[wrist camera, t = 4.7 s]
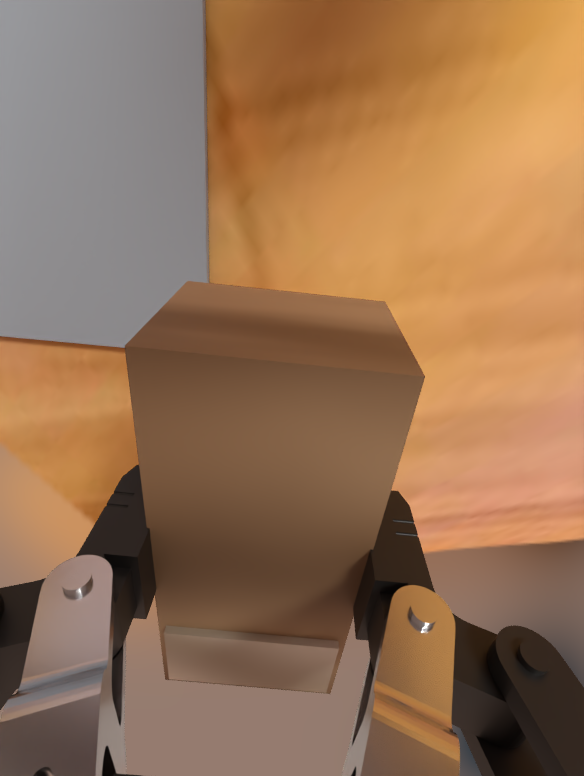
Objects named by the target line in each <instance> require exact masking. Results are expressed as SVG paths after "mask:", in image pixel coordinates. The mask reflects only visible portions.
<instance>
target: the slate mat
mask: <svg viewBox="0 0 584 776" xmlns="http://www.w3.org/2000/svg"><path fill="white" fill-rule="evenodd" d="M187 281H194V282H203V283H209V230H208V157H207V84H206V11H205V0H0V336H4V337H15V338H25V339H36V340H47V341H57V342H68V343H79V344H89V345H100V346H111V347H121V348H125V345H126V344H127V343H128V342H129V341H130V340H131V339H132V338H133V337H134V336H135V335H136V334H137V332H138V331H139V330H140V329H141V328H142V327H143V326H144V325H145V324H146V323H147V322H148V321H149V320H150V319H151V318H152V317H153V316H154V315H155V314H156V313H157V312H158V311H159V310H160V309H161V308H162V307H163V306H164V305H165V304H166V303H167V302H168V301H169V299H170V298H171V297H172V296H173V295H174V294H175V293H176V292H177V291H178V290H179V289H180V288H181V287H182V286H183V285H184V284H185V283H186V282H187Z"/></svg>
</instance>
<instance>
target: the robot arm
mask: <svg viewBox="0 0 584 776" xmlns="http://www.w3.org/2000/svg"><path fill="white" fill-rule="evenodd" d="M417 535H418V534H417V530H416V527H415V524H414V520H413V517H412V513H411V510H410V506H409V505H408V503H407V502H406V501H405V499H404V498H403V497H402V496H401V494H400V493H399V492H398V491H391V492H390V495H389V499H388V502H387V505H386V509H385V512H384V515H383V519H382V522H381V525H380V529H379V532H378V536H377V539H376V542H375V546H374V549H373V550H371V549H370V552H369V556H368V559H367V563H366V566H365V569H364V573H363V576H362V579H361V583H360V586H359V589H358V593H357V596H356V599H355V603H354V606H353V613H354V622H355V633H356V639H360V640H368V641H369V649H370V659H369V662H368V665H367V669H366V673H365V678H364V682H363V687H362V691H361V696H360V700H359V705H358V709H357V714H356V718H355V723H354V727H353V732H352V737H351V741H350V745H349V749H348V754H347V757H346V761H345V764H344V768H343V771H342V775H341V776H459V774H460V770H459V769H460V748H459V741H458V737H457V734H456V733H454V732H453V730H452V724H453V725H455V726H457V727H459V728H461V731H462V732H463V735H464V737H465V739H466V741H467V744H468V746H469V748H470V750H471V753H472V754H473V757H474V759H475V761H476V764H477V766H478V768H479V770H480V772H481V775H482V776H584V687H583V686H582V685H581V683H580V682H579V681H578V679H577V678H576V676H575V675H574V673H573V672H572V670H571V669H570V668H569V666H568V665H567V663H566V662H565V661H564V659H563V658H562V657H561V655H560V654H559V652H558V651H557V650H556V649H555V648H554V647H553V646H552V645H551V643H549V642H548V641H547V640H546V639H545V638H543V637H542V636H540V635H539V634H537V633H536V632H534V631H532V630H530V629H528V628H525V627H521V626H508V627H505V628H503V629H502V630H501V631H500V632H499V633H498V635H497V634H494V633H492V632H490V631H487V630H485V629H482V628H480V627H477V626H475V625H472V624H470V623H467V622H466V621H463V620H462V619H460V618H458V617H457V616H455V615H454V614H453V613H452V612H451V610H450V608H449V607H448V605H447V604H446V603H445V601H444V600H443V599H442V598H441V597H440V596H438V595H437V594H436V593H435V591H434V588H433V585H432V582H431V578H430V575H429V571H428V568H427V565H426V561H425V558H424V554H423V551H422V547H421V544H420V541H419V537H417ZM155 592H156V581H155V572H154V563H153V554H152V545H151V537H150V528H147V525H146V517H145V509H144V501H143V493H142V484H141V476H140V468H139V465H136V466H135V467H134V468H133V469H131V470H130V471H129V472H128V473H127V474H125V475H124V476H123V477H122V478H121V480H120V482H119V484H118V485H117V487H116V489H115V491H114V494H112V496H111V497H110V499H109V501H108V503H107V506H106V507H105V508H104V510H103V511H102V513H101V515H100V516H99V518H98V520H97V522H96V523H95V525H94V527H93V529H92V530H91V532H90V534H89V536H88V537H87V539H86V541H85V542H84V544H83V546H82V548H81V549H80V551H79V553H78V554H77V556H76V557H74V558H71V559H69V560H67V561H65V562H63V563H62V564H60V565H58V566H57V567H56V568H55V569H54V570H52V572H51V573H50V574H49V575H48V576H47V578H45V579H42V580H38V581H34V582H29V583H24V584H19V585H14V586H9V587H4V588H0V710H1V708H2V707H3V706H4V705H5V707H4V709H3V712H2V715H1V719H0V776H140V775H127V774H126V751H125V738H124V737H125V736H124V717H125V714H124V713H125V669H126V668H125V667H126V665H125V664H126V635H127V632H128V629H129V627H130V625H131V622H132V619H133V618H139V619H146V618H147V615H148V612H149V610H150V607H151V604H152V601H153V598H154V595H155ZM16 689H19V690H18V691H17V693H16V694H14V695H12V694H13V693H14V691H15V690H16ZM5 703H6V704H5Z"/></svg>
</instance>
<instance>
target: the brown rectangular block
mask: <svg viewBox="0 0 584 776" xmlns="http://www.w3.org/2000/svg"><path fill="white" fill-rule="evenodd" d="M125 354H126V362H127V370H128V378H129V386H130V394H131V403H132V411H133V419H134V427H135V435H136V443H137V452H138V460H139V468H140V476H141V484H142V493H143V501H144V509H145V517H146V525H147V528H150V537H151V545H152V554H153V563H154V572H155V581H156V592H155V599H156V607H157V615H158V622H159V631H160V640H161V647H162V656H163V664H164V672H165V679H166V680H178V681H189V682H201V683H213V684H224V685H236V686H247V687H259V688H270V689H281V690H294V691H304V692H316V693H328V694H330V693H331V689H332V686H333V682H334V679H335V676H336V673H337V669H338V666H339V663H340V659H341V656H342V652H343V649H344V646H345V642H346V639H347V636H348V633H349V629H350V626H351V623H352V619H353V616H354V613H353V606H354V603H355V599H356V596H357V593H358V589H359V586H360V583H361V579H362V576H363V573H364V569H365V566H366V563H367V559H368V556H369V552H370V549H371V550H373V549H374V546H375V542H376V539H377V536H378V532H379V529H380V525H381V522H382V519H383V515H384V512H385V509H386V505H387V502H388V499H389V495H390V492H391V489H392V485H393V482H394V479H395V475H396V472H397V469H398V465H399V462H400V459H401V455H402V452H403V449H404V445H405V442H406V438H407V435H408V432H409V428H410V425H411V422H412V418H413V415H414V412H415V408H416V405H417V402H418V398H419V395H420V392H421V388H422V385H423V382H424V378H425V376H424V374H423V372H422V370H421V368H420V366H419V364H418V362H417V361H416V359H415V357H414V355H413V353H412V351H411V349H410V347H409V346H408V344H407V342H406V340H405V338H404V336H403V334H402V332H401V331H400V329H399V327H398V325H397V323H396V321H395V319H394V317H393V316H392V314H391V312H390V310H389V308H388V306H387V304H386V302H384V301H374V300H365V299H355V298H346V297H336V296H327V295H317V294H308V293H298V292H289V291H279V290H270V289H260V288H251V287H241V286H232V285H222V284H213V283H203V282H194V281H187V282H186V283H185V284H184V285H183V286H182V287H181V288H180V289H179V290H178V291H177V292H176V293H175V294H174V295H173V296H172V297H171V298H170V299H169V301H168V302H167V303H166V304H165V305H164V306H163V307H162V308H161V309H160V310H159V311H158V312H157V313H156V314H155V315H154V316H153V317H152V318H151V319H150V320H149V321H148V322H147V323H146V324H145V325H144V326H143V327H142V328H141V329H140V330H139V331H138V332H137V334H136V335H135V336H134V337H133V338H132V339H131V340H130V341H129V342H128V343H127V344H126V345H125Z"/></svg>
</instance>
